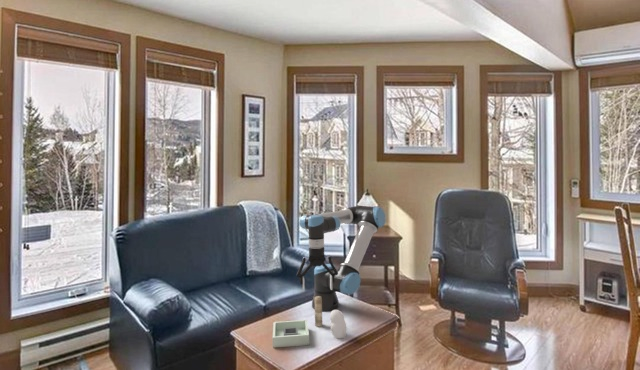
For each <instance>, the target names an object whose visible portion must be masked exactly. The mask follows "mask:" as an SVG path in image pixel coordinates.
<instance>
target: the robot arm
mask: <svg viewBox="0 0 640 370" xmlns="http://www.w3.org/2000/svg"><path fill="white" fill-rule="evenodd" d="M386 219H387V218H386V213H385V210H384V208H382V207H380V206H370V205H368V206H367V205H354V206H350V207H349V206H348V207H344V208H342V209H341V210H337V211H329V212H324V213H316V214H303V215H302V216H301V217H300V219H299V226H300V227H301V228H302V229H305V230H307V231H308V257H305V256H303V257H302V260H301V261H302V262H301V263H300V265H299V268H298V270H297V273H296V277H297V278H299V282H300V285H302V292H305V291H306V290H305V289H306V287H305V275H306V274H307V273H308V271H309V270H310V269H311V268H312V267H314V269H313V279H314V280H313V281H314V294H313V298H312V300H311V307H312V308H313V309H314V310H315V299H314V297H316V296H321V297H322V312H328V311H330V312H331V311H333V310H338V308H339V306H340V301H339V298H338V296H337V293H341V294H343V295H353V294H355V293H356V292H357V291H358V290H359V289H360V285H361V281H362V279H361V275H360V273H361V272H360V271H359V268H360V266H361V264H362V261H363V259H364V256H365V255H366V252H367V249H368V247H369V245H370V242H371V240H372V238H373V235H374V234H375V233H377V232H378V230H379V228H384V227H385V224H386ZM341 224H343V225H344V224H345V225H357V226H358V229H357V232H356V234H355V237H354V239H353V241H352V243H351V246H350V247H349V250H348V252H347V255H346V257H345V259H344V262H343V263H339V266H338V268H336V265H335V264H334V263H333V261H332V257H331V256H330V255H327V256H325V234H327V233H333V232H335V231H338V230H339V229H340V227H341ZM326 260H327V262H328V263H325V261H326ZM307 262H309V263H308V265H307V266H306V267H305V264H306V263H307ZM304 267H305V269H304ZM303 269H304V270H303ZM302 270H303V271H302ZM336 292H337V293H336Z"/></svg>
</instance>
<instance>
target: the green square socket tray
mask: <svg viewBox="0 0 640 370" xmlns="http://www.w3.org/2000/svg"><path fill="white" fill-rule="evenodd" d="M299 346H310V332H309V325H308V320H307V319H299V320H288V321H287V320H286V321H285V320H283V321H273V323H272V348H273V349H274V348H283V347H284V348H286V347H299Z"/></svg>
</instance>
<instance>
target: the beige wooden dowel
mask: <svg viewBox="0 0 640 370" xmlns="http://www.w3.org/2000/svg"><path fill="white" fill-rule="evenodd" d="M313 297H314V296H313ZM314 299H315V309H314V321H315V322H314V326H315V327H316V328H320V327H322V326H323V311H322V297H321V296H316V297H314Z"/></svg>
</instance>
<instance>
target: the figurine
mask: <svg viewBox="0 0 640 370" xmlns="http://www.w3.org/2000/svg"><path fill="white" fill-rule="evenodd" d="M329 320H330V331H331V335H332V336H333V338H334V339H335V338H336V339H344V338H346V337H347V336H346V335H347V323H346V320H345V317H344V314H343V313H342V311H341V310H339V309H334V310H331V311H330V313H329Z"/></svg>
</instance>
